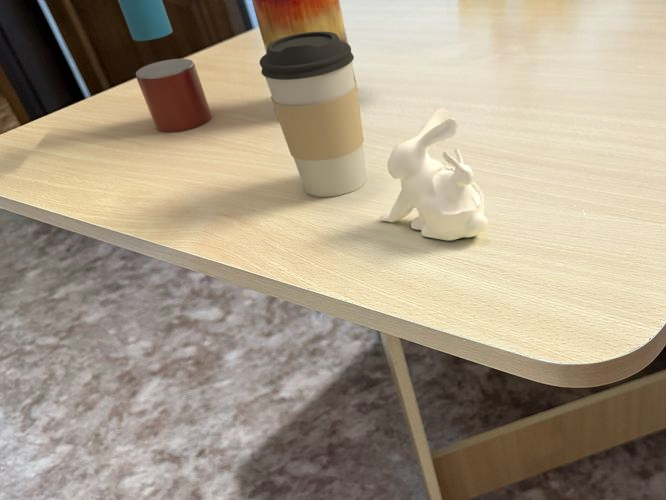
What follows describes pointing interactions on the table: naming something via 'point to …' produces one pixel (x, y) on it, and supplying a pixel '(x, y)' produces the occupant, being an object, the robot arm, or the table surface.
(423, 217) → the rabbit figurine
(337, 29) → the vase
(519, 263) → the table surface
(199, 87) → the tin
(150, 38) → the teal blue cylinder
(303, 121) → the coffee cup
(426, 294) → the table surface
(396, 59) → the table surface
